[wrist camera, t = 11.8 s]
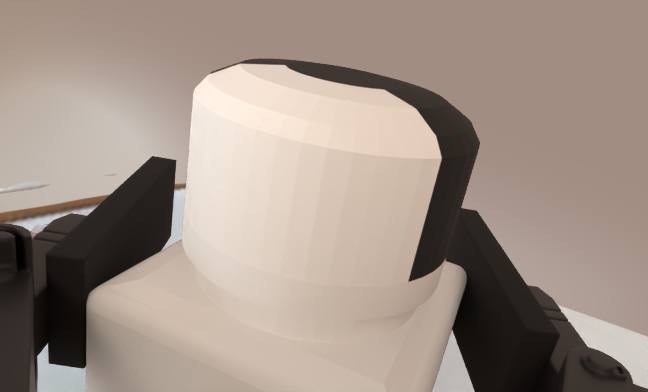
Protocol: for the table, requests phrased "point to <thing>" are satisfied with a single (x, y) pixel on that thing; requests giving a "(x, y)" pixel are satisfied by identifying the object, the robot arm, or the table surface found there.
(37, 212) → the table surface
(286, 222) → the medicine bottle
